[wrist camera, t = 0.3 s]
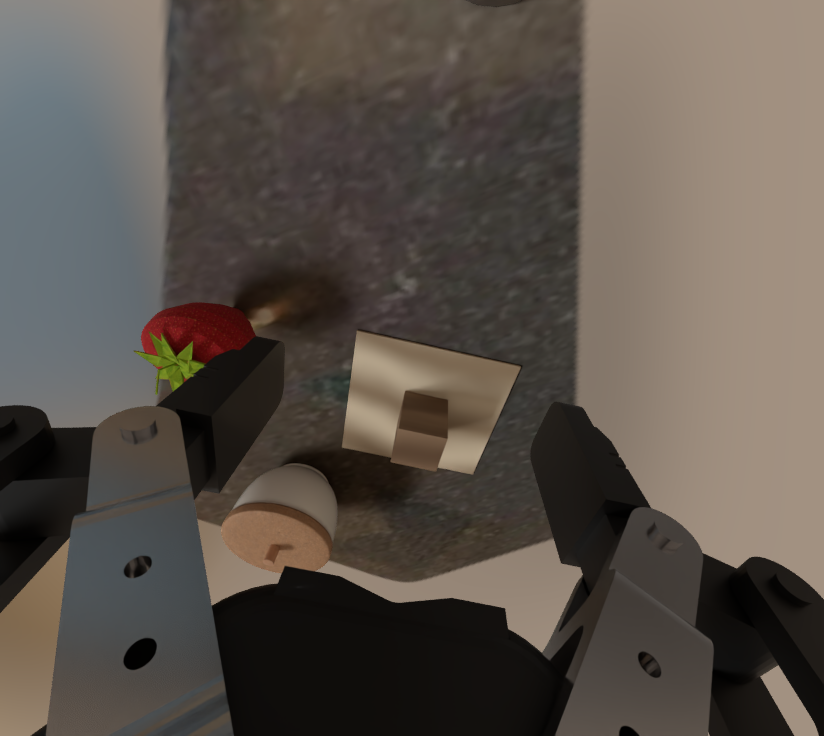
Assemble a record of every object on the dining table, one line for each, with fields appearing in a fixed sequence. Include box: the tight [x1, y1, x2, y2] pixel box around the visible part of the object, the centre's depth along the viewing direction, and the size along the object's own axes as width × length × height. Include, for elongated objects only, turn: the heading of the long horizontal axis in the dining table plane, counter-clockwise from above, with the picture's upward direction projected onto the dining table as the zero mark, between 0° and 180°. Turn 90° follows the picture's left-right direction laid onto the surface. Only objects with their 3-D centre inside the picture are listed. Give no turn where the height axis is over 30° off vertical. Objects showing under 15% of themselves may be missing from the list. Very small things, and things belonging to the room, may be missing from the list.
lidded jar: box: [221, 463, 338, 573], centre depth 38 cm, size 11×11×9 cm
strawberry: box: [134, 302, 256, 395], centre depth 26 cm, size 6×8×10 cm
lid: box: [342, 330, 521, 474], centre depth 32 cm, size 14×14×6 cm
